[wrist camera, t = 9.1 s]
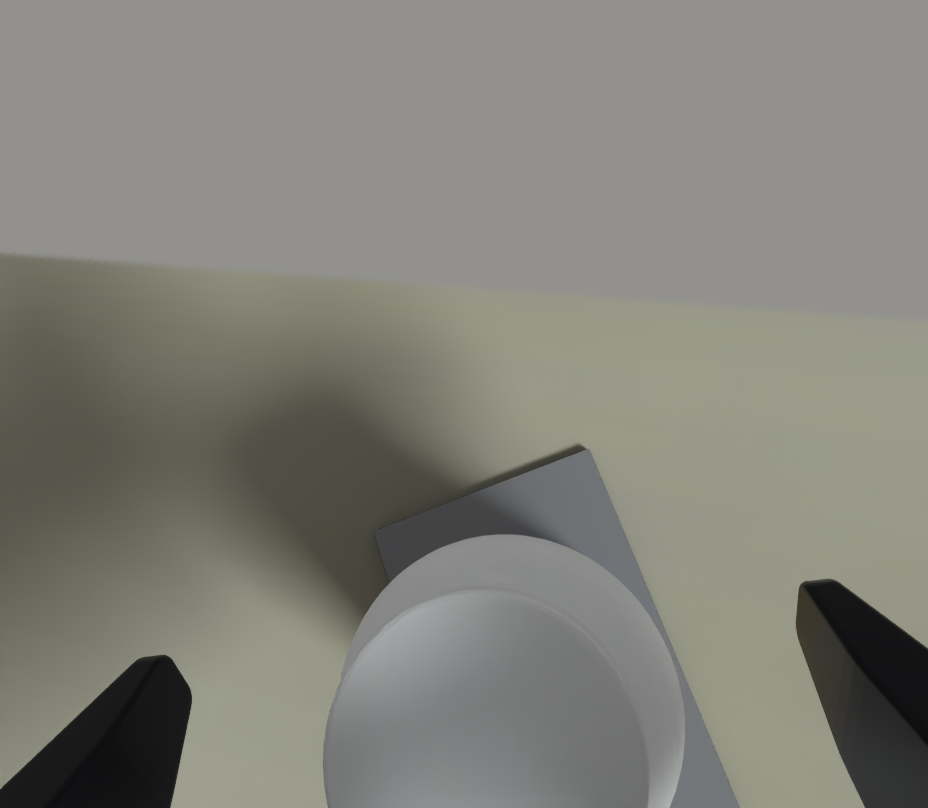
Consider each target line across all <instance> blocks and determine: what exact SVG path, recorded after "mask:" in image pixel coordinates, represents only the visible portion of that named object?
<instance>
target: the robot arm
mask: <svg viewBox="0 0 928 808" xmlns="http://www.w3.org/2000/svg"><path fill="white" fill-rule="evenodd" d="M796 630H797V635H798V639H799V642H800V645H801V648H802V651H803V654H804V656H805V659H806V662H807V665H808V668H809V670H810V673H811V676H812V679H813V682H814V684H815V687H816V690H817V693H818V695H819V698H820V701H821V704H822V707H823V709H824V712H825V715H826V718H827V721H828V723H829V726H830V729H831V732H832V734H833V737H834V740H835V742H836V745H837V748H838V750H839V753H840V755H841V758H842V760H843V762H844V764H845V766H846V769H847V771H848V773H849V775H850V777H851V779H852V781H853V783H854V785H855V788H856V790H857V792H858V794H859V796H860V798H861V800H862V802H863V804H864V806H865V808H928V648H927V647H925V646H924V645H923V644H921V643H920V642H919V641H917V640H916V639H915V638H913V637H912V636H911V635H909V634H908V633H907V632H905V631H904V630H903V629H901V628H900V627H898V626H897V625H896V624H894V623H893V622H892V621H890V620H889V619H888V618H886V617H885V616H884V615H882V614H881V613H880V612H878V611H877V610H876V609H874V608H873V607H872V606H870V605H869V604H868V603H866V602H865V601H864V600H862V599H861V598H859V597H858V596H857V595H855V594H854V593H853V592H851V591H850V590H849V589H847V588H846V587H845V586H843V585H842V584H841V583H839V582H838V581H835V580H833V579H822V580H813V581H805V582H803V583H802V584H801V585H800V587H799V592H798V604H797V615H796ZM191 704H192V695H191V690H190V687H189V685H188V684H187V682H186V681H185V679H184V678H183V676H182V674H181V673H180V671H179V670H178V668H177V667H176V665H175V663H174V662H173V660H172V659H171V658H170V657H168V656H166V655H157V656H149V657H143V658H140V659H138V660H136V661H135V662H134V663H133V664H132V665H131V666H130V667H129V668H128V669H127V670H125V671H124V672H123V673H122V674H121V675H120V676H119V677H118V678H117V679H116V680H115V681H114V682H113V683H112V684H111V685H110V686H109V687H108V688H106V689H105V690H104V691H103V692H102V693H101V694H100V695H99V696H98V697H97V698H96V699H95V700H94V701H93V702H92V703H91V704H90V705H89V706H87V707H86V708H85V709H84V710H83V711H82V712H81V713H80V714H79V715H78V716H77V717H76V718H75V719H74V720H73V721H72V722H71V723H70V724H68V725H67V726H66V727H65V728H64V729H63V730H62V731H61V732H60V733H59V734H58V735H57V736H56V737H55V738H54V739H53V740H52V741H51V742H50V743H48V744H47V745H46V746H45V747H44V748H43V749H42V750H41V751H40V752H39V753H38V754H37V755H36V756H35V757H34V758H33V759H32V760H31V761H29V762H28V763H27V764H26V765H25V766H24V767H23V768H22V769H21V770H20V771H19V772H18V773H17V774H16V775H15V776H14V777H13V778H12V779H10V780H9V781H8V782H7V783H6V784H5V785H4V786H3V787H2V788H1V789H0V808H170V806H171V802H172V798H173V794H174V789H175V784H176V779H177V774H178V769H179V764H180V759H181V754H182V749H183V744H184V740H185V735H186V730H187V725H188V720H189V715H190V710H191Z"/></svg>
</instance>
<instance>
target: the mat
mask: <svg viewBox="0 0 928 808" xmlns="http://www.w3.org/2000/svg"><path fill="white" fill-rule="evenodd" d="M373 532H374V535H375V538H376V542H377V545H378V548H379V551H380V554H381V557H382V561H383V564H384V567H385V570H386V573H387V577H388V580H389V583H390V582H391V581H392V580H393V579H394V578H395V577H396V576H397V575H399V574H400V573H401V572H402V571H404V570H405V569H406V568H407V567H409V566H410V565H412V564H413V563H414V562H416V561H417V560H419V559H421V558H422V557H424V556H426V555H427V554H429V553H431V552H433V551H435V550H437V549H439V548H441V547H444V546H446V545H449V544H452V543H455V542H458V541H462V540H465V539H469V538H474V537H479V536H485V535H499V534H511V535H524V536H530V537H535V538H540V539H545V540H549V541H552V542H555V543H558V544H561V545H563V546H566V547H569V548H571V549H573V550H575V551H577V552H579V553H581V554H583V555H585V556H587V557H589V558H590V559H592V560H593V561H595V562H596V563H598V564H599V565H601V566H602V567H604V568H605V569H606V570H608V571H609V572H610V573H611V574H613V575H614V576H615V577H616V578H617V579H618V580H619V581H621V582H622V583H623V584H624V585H625V586H626V587H627V588H628V589H629V590H630V591H631V593H632V594H633V595H634V596H635V597H636V598H637V599H638V600H639V602H640V603H641V605H642V606H643V607H644V609H645V610H646V612H647V613H648V614H649V616H650V617H651V619H652V621H653V622H654V624H655V625H656V627H657V629H658V631H659V632H660V634H661V636H662V638H663V640H664V642H665V644H666V646H667V648H668V651H669V653H670V655H671V658H672V660H673V663H674V666H675V669H676V673H677V676H678V680H679V684H680V689H681V694H682V698H683V706H684V715H685V742H684V755H683V762H682V768H681V772H680V776H679V780H678V784H677V788H676V792H675V795H674V797H673V800H672V802H671V805H670V808H740V807H739V805H738V802H737V800H736V797H735V795H734V793H733V790H732V788H731V785H730V783H729V781H728V778H727V776H726V774H725V771H724V769H723V766H722V764H721V762H720V759H719V757H718V755H717V752H716V750H715V747H714V745H713V743H712V740H711V738H710V735H709V733H708V731H707V728H706V726H705V724H704V721H703V719H702V716H701V714H700V712H699V709H698V707H697V705H696V702H695V700H694V697H693V695H692V693H691V690H690V688H689V685H688V683H687V681H686V678H685V676H684V674H683V671H682V669H681V666H680V664H679V662H678V659H677V657H676V655H675V652H674V650H673V647H672V645H671V643H670V640H669V638H668V635H667V633H666V631H665V628H664V626H663V624H662V621H661V619H660V616H659V614H658V612H657V609H656V607H655V604H654V602H653V600H652V597H651V595H650V593H649V590H648V588H647V585H646V583H645V581H644V578H643V576H642V574H641V571H640V569H639V566H638V564H637V562H636V559H635V557H634V554H633V552H632V550H631V547H630V545H629V543H628V540H627V538H626V535H625V533H624V531H623V528H622V526H621V524H620V521H619V519H618V516H617V514H616V512H615V509H614V507H613V504H612V502H611V500H610V497H609V495H608V493H607V490H606V488H605V485H604V483H603V481H602V478H601V476H600V474H599V471H598V469H597V466H596V464H595V462H594V459H593V457H592V454H591V452H590V450H589V449H587V450H584V451H581V452H579V453H576V454H573V455H571V456H568V457H566V458H563V459H560V460H558V461H555V462H553V463H550V464H547V465H545V466H542V467H540V468H537V469H534V470H532V471H529V472H526V473H524V474H521V475H519V476H516V477H513V478H511V479H508V480H506V481H503V482H500V483H498V484H495V485H492V486H490V487H487V488H485V489H482V490H479V491H477V492H474V493H472V494H469V495H466V496H464V497H461V498H459V499H456V500H453V501H451V502H448V503H445V504H443V505H440V506H438V507H435V508H432V509H430V510H427V511H425V512H422V513H419V514H417V515H414V516H411V517H409V518H406V519H404V520H401V521H398V522H396V523H393V524H391V525H388V526H385V527H383V528H380V529H378V530H375V531H373Z"/></svg>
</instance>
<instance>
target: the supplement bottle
mask: <svg viewBox="0 0 928 808" xmlns="http://www.w3.org/2000/svg"><path fill="white" fill-rule="evenodd" d="M684 742H685V715H684V706H683V698H682V694H681V689H680V684H679V680H678V676H677V673H676V669H675V666H674V663H673V660H672V658H671V655H670V653H669V651H668V648H667V646H666V644H665V642H664V640H663V638H662V636H661V634H660V632H659V631H658V629H657V627H656V625H655V624H654V622H653V621H652V619H651V617H650V616H649V614H648V613H647V612H646V610H645V609H644V607H643V606H642V605H641V603H640V602H639V600H638V599H637V598H636V597H635V596H634V595H633V594H632V593H631V591H630V590H629V589H628V588H627V587H626V586H625V585H624V584H623V583H622V582H621V581H619V580H618V579H617V578H616V577H615V576H614V575H613V574H611V573H610V572H609V571H608V570H606V569H605V568H604V567H602V566H601V565H599V564H598V563H596V562H595V561H593V560H592V559H590V558H589V557H587V556H585V555H583V554H581V553H579V552H577V551H575V550H573V549H571V548H569V547H566V546H563V545H561V544H558V543H555V542H552V541H549V540H545V539H540V538H535V537H530V536H524V535H511V534H499V535H485V536H479V537H474V538H469V539H465V540H462V541H458V542H455V543H452V544H449V545H446V546H444V547H441V548H439V549H437V550H435V551H433V552H431V553H429V554H427V555H426V556H424V557H422V558H421V559H419V560H417V561H416V562H414V563H413V564H412V565H410V566H409V567H407V568H406V569H405V570H404V571H402V572H401V573H400V574H399V575H397V576H396V577H395V578H394V579H393V580H392V581H391V582H390V583H389V584H388V585H387V586H386V587H385V589H384V590H383V591H382V592H381V593H380V594H379V596H378V597H377V598H376V600H375V601H374V602H373V604H372V605H371V607H370V608H369V610H368V611H367V613H366V614H365V616H364V618H363V619H362V621H361V623H360V625H359V627H358V629H357V631H356V633H355V636H354V638H353V640H352V642H351V645H350V648H349V650H348V653H347V656H346V660H345V663H344V667H343V671H342V675H341V682H340V684H339V686H338V688H337V691H336V694H335V697H334V700H333V703H332V706H331V709H330V713H329V717H328V721H327V725H326V732H325V741H324V751H323V772H324V785H325V793H326V798H327V804H328V808H670V805H671V802H672V800H673V797H674V795H675V792H676V788H677V784H678V780H679V776H680V772H681V768H682V762H683V755H684Z"/></svg>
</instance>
